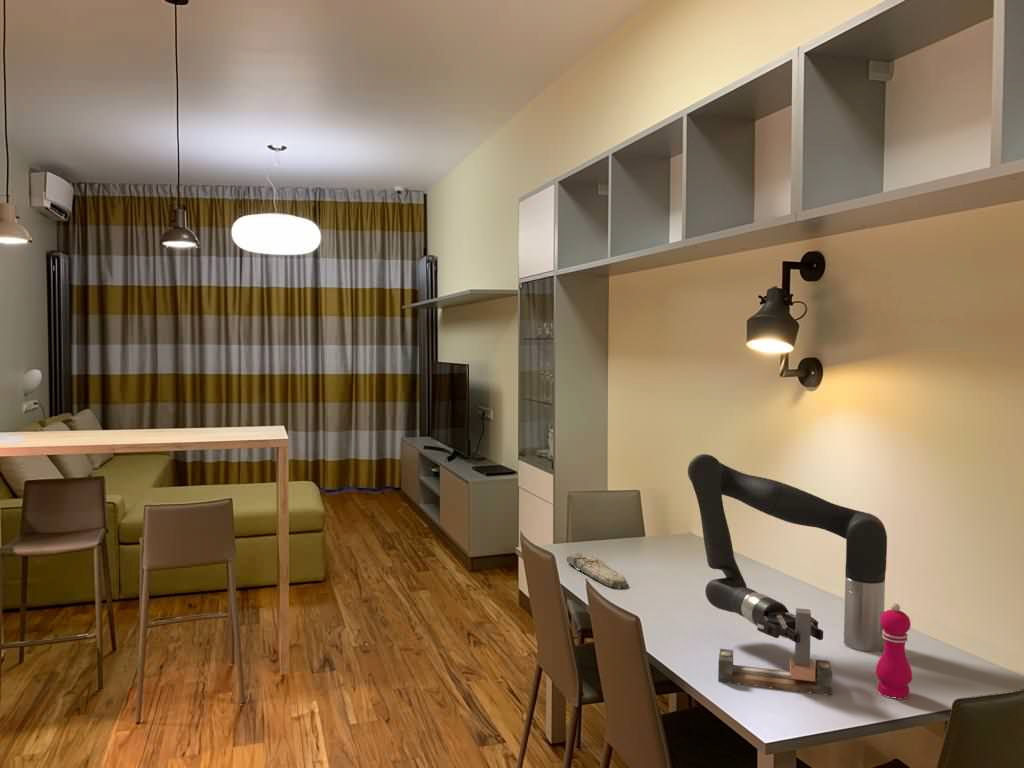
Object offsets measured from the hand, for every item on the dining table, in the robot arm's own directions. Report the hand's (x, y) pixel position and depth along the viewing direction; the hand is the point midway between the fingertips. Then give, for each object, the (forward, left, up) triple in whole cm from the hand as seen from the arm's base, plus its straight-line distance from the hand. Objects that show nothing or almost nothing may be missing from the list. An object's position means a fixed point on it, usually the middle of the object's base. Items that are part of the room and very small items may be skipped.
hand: (810, 637), depth 175 cm
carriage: (+1, -2, -9) cm, 10 cm away
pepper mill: (-18, -4, -12) cm, 22 cm away
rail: (+7, -2, -12) cm, 14 cm away
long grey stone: (+63, -73, -13) cm, 97 cm away
